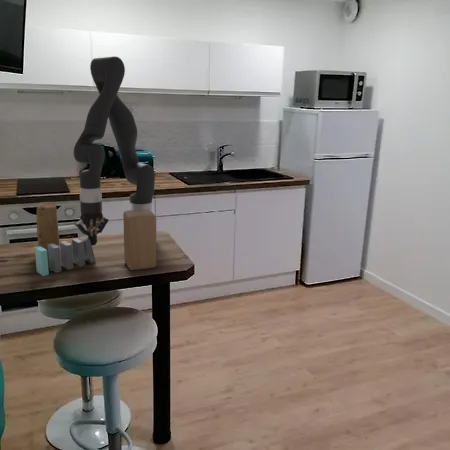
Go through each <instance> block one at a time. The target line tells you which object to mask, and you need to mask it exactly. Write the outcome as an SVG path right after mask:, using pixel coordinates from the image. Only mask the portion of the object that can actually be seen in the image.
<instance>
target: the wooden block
mask: <svg viewBox="0 0 450 450" xmlns="http://www.w3.org/2000/svg"><path fill="white" fill-rule="evenodd" d="M122 217H123V248H124V249H123V250H124V251H123V253H124V256H123V257H124V262H125V264H126V266H127V267H128V269H129V271H138V270H145V269H153V268H154V269H155V268H156V267H157V216H156V215H155V214H154V213H153V211H152V212H151V211H150V210H148V209H146V210H131V211H130V210H125V211H124V212H123V215H122Z"/></svg>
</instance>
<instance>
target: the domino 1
mask: <svg viewBox="0 0 450 450" xmlns="http://www.w3.org/2000/svg"><path fill="white" fill-rule="evenodd" d="M34 252H35V253H34V255H35V265H36V266H35V268H36V273H37V274H40V275H41V276H42V277H45V276H48V275H50V274H49V273H50V272H49V258H47V250H46V249H44V248H43V247H41V246H39V247H38V246H35V247H34Z"/></svg>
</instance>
